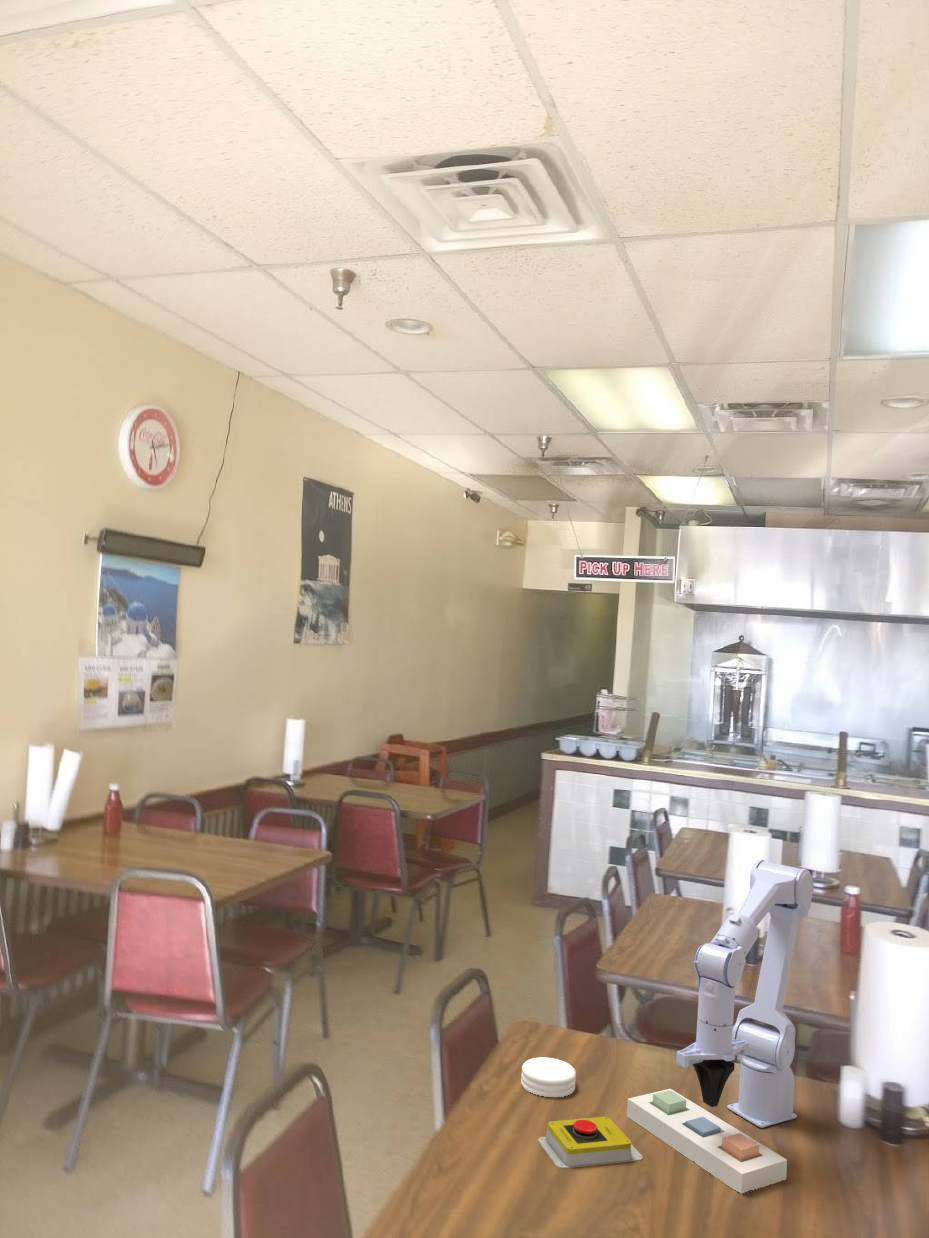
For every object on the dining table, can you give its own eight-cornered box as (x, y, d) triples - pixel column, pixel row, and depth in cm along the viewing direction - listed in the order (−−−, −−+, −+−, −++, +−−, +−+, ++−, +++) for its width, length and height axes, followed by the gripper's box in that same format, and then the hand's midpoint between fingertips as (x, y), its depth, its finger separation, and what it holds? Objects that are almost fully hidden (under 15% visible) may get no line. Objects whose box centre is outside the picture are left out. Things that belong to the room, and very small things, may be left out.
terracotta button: (738, 1151, 152) (739, 1132, 152) (758, 1164, 148) (759, 1144, 148) (721, 1157, 150) (722, 1137, 150) (740, 1169, 146) (741, 1150, 146)
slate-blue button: (702, 1134, 158) (703, 1116, 159) (719, 1146, 155) (720, 1127, 155) (684, 1139, 156) (685, 1121, 157) (702, 1151, 153) (703, 1132, 153)
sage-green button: (669, 1107, 165) (670, 1090, 165) (685, 1117, 162) (686, 1100, 162) (651, 1111, 163) (652, 1094, 163) (668, 1122, 160) (669, 1104, 160)
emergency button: (537, 1114, 155) (619, 1107, 159) (535, 1141, 154) (618, 1133, 159) (560, 1143, 146) (646, 1135, 150) (558, 1172, 146) (644, 1163, 150)
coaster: (515, 1092, 171) (516, 1073, 171) (527, 1070, 180) (528, 1052, 180) (569, 1104, 168) (570, 1084, 168) (579, 1081, 177) (580, 1062, 177)
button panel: (669, 1105, 169) (670, 1088, 170) (786, 1179, 147) (787, 1159, 147) (626, 1116, 164) (627, 1098, 164) (741, 1194, 142) (742, 1173, 142)
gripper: (700, 1035, 148) (695, 1123, 148) (765, 1022, 156) (760, 1106, 155) (669, 1018, 154) (664, 1103, 154) (732, 1007, 162) (728, 1088, 161)
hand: (710, 1103), depth 155 cm, fingers closed
